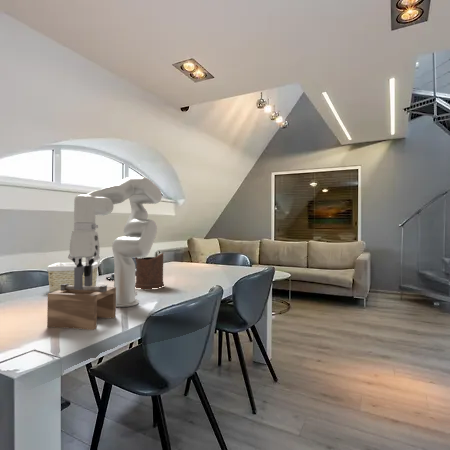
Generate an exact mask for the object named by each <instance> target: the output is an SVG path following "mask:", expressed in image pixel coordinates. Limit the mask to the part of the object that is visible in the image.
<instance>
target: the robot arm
mask: <svg viewBox="0 0 450 450" xmlns="http://www.w3.org/2000/svg"><path fill="white" fill-rule="evenodd" d="M162 195H163V194H162V191H161V189H160V188H159V186H157V185H156V184H155V183H154V182H153V181H152V180H150V179H149V178H148V177H147V176H146V177H145V176H129V177H125V178H123V179H121V180H119V181H117V182H116V183H115V184H113V185H110V186H107V187H103V188H100V189H96V190H93V191H91V192H88V193H86V194H78V195H76V196H75V197H74V203H73V212H74V213H73V231H71V236H70V239H69V241H70V242H69V254H68V257H67V258H68V259H69V260H70V261H72V263H75V265H76V267H81V266H83V265H82V262H83V258H85V262H86V266H84V276H90V274H91V265H92V264H93V263H94V262H98V260H100V259H101V257H100V240H99V239H100V238H99V233H98V231H96V229H99V225H98V224H97V223H96V216H108V215H110V214H111V213H112V212H113V210H114V207H115V206H114V205H118V204H121V203H123V202H125V201H126V200H129V203H130V208H131V209H130V210H131V211H130V214H129V216H128V219H127V220H126V221H125V222H126V223H125V225H124V227H123V234H124V236H119V237H116V238H115V239H114V240H113V242H112V246H111V248H112V255H113V262H114V267H113V269H114V271H113V273H114V281H113V287H116V308H128V307H133V306H136V305H138V304H139V300H138V299H137V298H136V296H137V295H138V292H137V291H136V289H135V283H136V276H135V271H136V262H135V261H134V260H133V258H135V257H137V259H140V258H145V257H148V255H149V254H150V252H151V250H152V247H153V244H154V242H155V238H156V236H157V233H158V226H157V223H156V222H155V221H154V220H153V219H148V216H149V214H148V211H147V209H146V208H145V206H144V205H145V204H147V205H149V204H150V205H151V204H152V205H153V204H154V205H155V204H159V203H161V200H162Z"/></svg>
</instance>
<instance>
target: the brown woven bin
mask: <svg viewBox="0 0 450 450" xmlns="http://www.w3.org/2000/svg"><path fill="white" fill-rule="evenodd" d="M134 258H135V267H136V271H135V287H136V288H141V289H152V288H159V287H162V286H164V285H165V284H164V253H163V252H162V253H160V254H159V255H157V256H146V257H143V258H137V257H134Z"/></svg>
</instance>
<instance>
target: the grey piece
mask: <svg viewBox="0 0 450 450" xmlns="http://www.w3.org/2000/svg"><path fill="white" fill-rule="evenodd" d="M85 266H86V265H85ZM92 266H93V265H91V274H90V276H85V280H84V286H92ZM83 273H84V266H81V267H76V268H74V289H75V290H81V289H83Z"/></svg>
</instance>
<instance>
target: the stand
mask: <svg viewBox="0 0 450 450" xmlns="http://www.w3.org/2000/svg"><path fill="white" fill-rule="evenodd" d="M116 309H117V307H116V287H114V286H108V285H100V286H97V285H96V286H83V289H81V290H75V289H74V286H72V285H69V284H61V290H58V291H55V292H49V293H47V309H46V310H47V316H46V317H47V318H46V319H47V320H46V327H47V328H60V329H74V330H75V329H76V330H89V331H94V330H96V329H97V326H98V325H97V322H98V321H97V320H98V319H97V318H101V319H103V318H104V319H115V318H116V315H117V314H116V312H117V310H116Z"/></svg>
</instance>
